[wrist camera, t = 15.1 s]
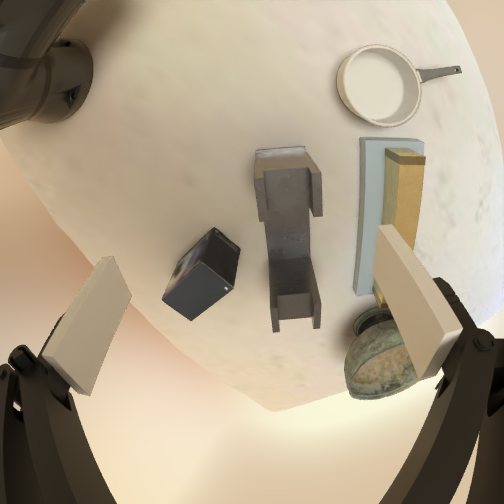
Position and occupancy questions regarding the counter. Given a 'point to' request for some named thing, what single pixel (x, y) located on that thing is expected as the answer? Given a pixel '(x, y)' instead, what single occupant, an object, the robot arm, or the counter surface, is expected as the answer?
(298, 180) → the grey metal bracket
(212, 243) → the small box
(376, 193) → the board
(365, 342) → the bowl
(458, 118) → the counter surface
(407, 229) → the rail
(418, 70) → the saucepan
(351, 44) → the counter surface
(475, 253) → the counter surface
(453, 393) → the robot arm
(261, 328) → the counter surface
